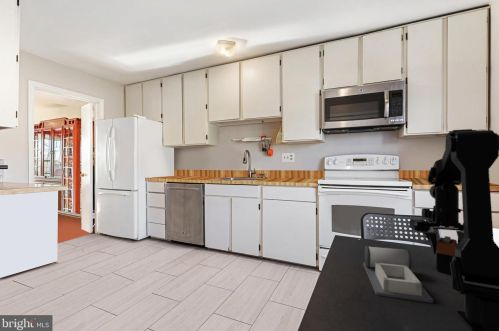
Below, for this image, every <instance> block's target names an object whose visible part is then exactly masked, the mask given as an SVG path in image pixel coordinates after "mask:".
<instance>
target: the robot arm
mask: <svg viewBox="0 0 499 331" xmlns="http://www.w3.org/2000/svg"><path fill="white" fill-rule="evenodd" d="M444 149H445V150H444V151H443V154H442V157H441V158H440V159H438V160H436V161H435V162H434V163H433V166H432V167H430V169H429V171H428V175H427V182H428V184H429V185H431V187H430V188H429V196H430V197H432V198H433V199H434V205H433V207H432V210H430V208H427V207H426V208H425V207H424V208H421V218H410V219H409V224H408V225H409V228H410V229H412V230H413V231H415V232H420V233H422V234H424V235H425V238H426V239H427V242H428V243H429V247H430V249H431V252H432V254H434V255H436V242H437V233H436V232H434V231H435V230H441V231H442V230H444V231H456V236H457V244H456V246H455V256H453V259H452V261H451V262H450V268H451V274H450V275H451V282H452V284H451V285H452V286H451V287H452V290H454V291H457V292H458V293H459V294H460V295H464V311H463V310H456V312H455V313H456V315H457V316H458V317H459V318H460V319H461V320H462V321H463V322H464V324H466V326H467V327H469V328H468V329H470V330H471V331H499V288H496V287H499V246H498V244H497V243H496V242H495V240H494V228H493V227H494V226H493V214H492V213H493V212H492V198H491V183H490V181H491V180H490V168H491V167H492V166H493V165H494V163H495V162H496V160H497V159H498V158H499V134H498V133H496V132H494V130H492V129H487V130H485V129H484V130H483V129H482V130H477V129H472V128H468V129H464V128H463V129H452V130H449V132H448V133H446V135H445V147H444ZM458 186H461V199H462V200H461V201H462V209H461V208H460V206H459V205H460V203H459V202H460V200H459V199H460V197H459V195H460V189H459V187H458ZM460 213H462V220H463V222H462V223H461V222H460V215H459V214H460ZM425 219H427V220H428V221H427V220H425ZM465 281H466V282H472V283H476V284H472V283H466V282H465ZM477 283H478V284H477ZM479 284H483V285H479ZM485 285H489V286H485ZM490 286H494V287H490Z"/></svg>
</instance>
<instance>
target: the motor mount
mask: <svg viewBox="0 0 499 331" xmlns="http://www.w3.org/2000/svg"><path fill="white" fill-rule="evenodd" d="M412 261H413V260H412V256H411V252H410V251H409V249H403V248H402V249H401V248H400V249H399V248H390V247H377V246H376V247H375V246H368V245H365V246H364V261H363V263H362V264H363V267H364V270H365V272H366V275H367V277H368V279H369V282H370V283H371V286H372V288H373V290H374V293H375V295H376V296H380V297H381V296H382V297H389V298H396V299H402V300H410V301H416V302H424V303H431V304H434V298H432V296H431V295H430V294H429V293H428V291H426V289H425V288H424V286H423V285H422V283H421V281H420V280H419V279H418V278H417V276H416V274H414V273H413V271H412V268H413V266H412V265H413V264H412Z"/></svg>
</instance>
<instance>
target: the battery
mask: <svg viewBox="0 0 499 331" xmlns="http://www.w3.org/2000/svg"><path fill="white" fill-rule="evenodd" d="M457 243H458V240H456V239H454V238H451V236H448V235H447V236H446V235H444V237H439V238H438V239H437V240H436V254H435V256H436V260H435V261H436V266H435V267H436V271H437V272H440V273H443V274H448V275H451V268H450V262H451V261H452V259H453V256H455V246H456V244H457Z"/></svg>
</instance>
